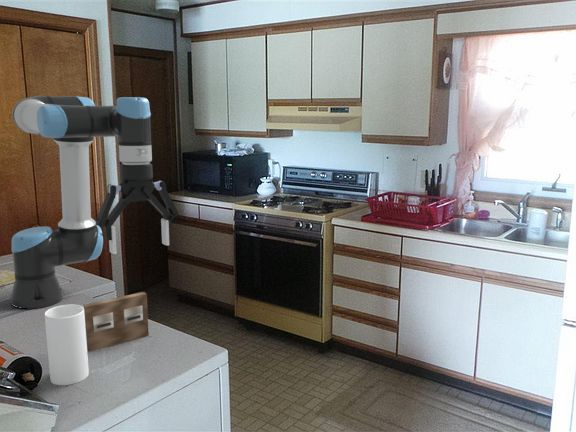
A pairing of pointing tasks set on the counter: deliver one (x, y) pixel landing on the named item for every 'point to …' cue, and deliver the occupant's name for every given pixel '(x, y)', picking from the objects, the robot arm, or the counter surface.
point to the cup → (66, 344)
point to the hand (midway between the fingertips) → (140, 248)
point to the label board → (116, 320)
